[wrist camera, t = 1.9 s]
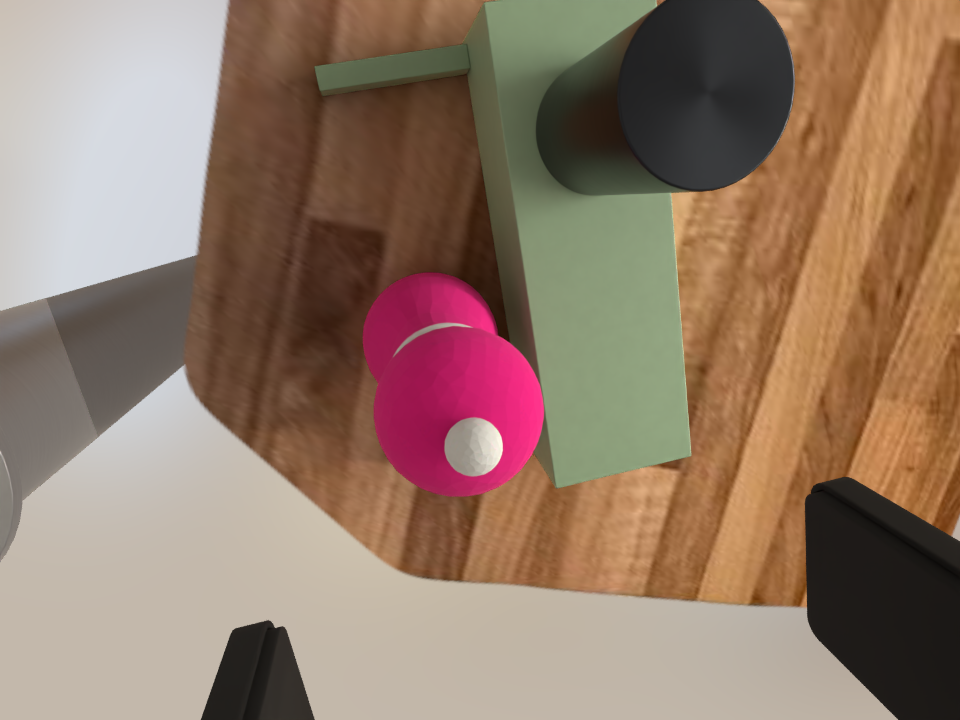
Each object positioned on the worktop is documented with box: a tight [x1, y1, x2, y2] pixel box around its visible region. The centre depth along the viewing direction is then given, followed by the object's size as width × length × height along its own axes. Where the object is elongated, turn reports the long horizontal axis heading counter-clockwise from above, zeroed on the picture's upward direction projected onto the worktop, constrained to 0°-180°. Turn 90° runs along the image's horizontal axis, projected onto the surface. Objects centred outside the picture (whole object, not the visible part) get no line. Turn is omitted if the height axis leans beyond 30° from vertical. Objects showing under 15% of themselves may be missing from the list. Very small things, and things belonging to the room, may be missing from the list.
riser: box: [314, 0, 691, 488], centre depth 33 cm, size 16×24×7 cm, turn 10°
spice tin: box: [536, 0, 795, 196], centre depth 24 cm, size 6×6×10 cm
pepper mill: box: [363, 272, 544, 496], centre depth 27 cm, size 7×7×20 cm
